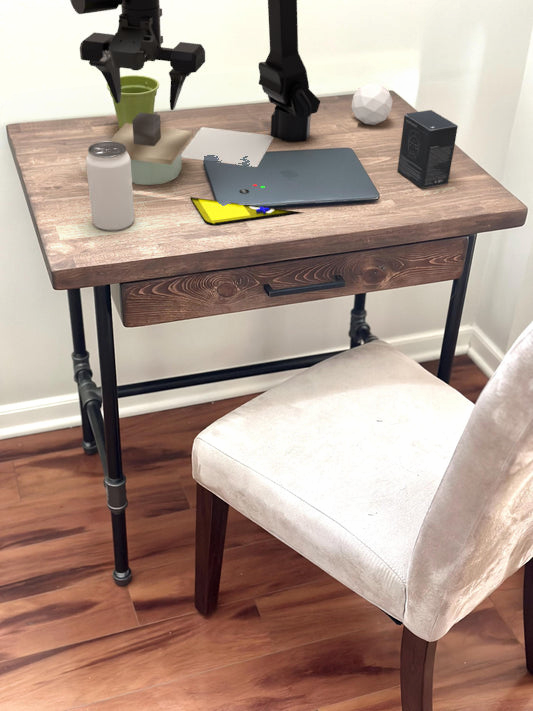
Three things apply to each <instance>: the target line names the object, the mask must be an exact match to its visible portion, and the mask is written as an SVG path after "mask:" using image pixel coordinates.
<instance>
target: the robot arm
mask: <svg viewBox="0 0 533 711" xmlns="http://www.w3.org/2000/svg"><path fill="white" fill-rule="evenodd" d="M69 1H70V4H71V6H72V8H73V9H74V11H75V12H76V14H77V15H85V14H92V13H97V12H104V11H105V12H106V11H112V10H113V11H114V10H117V9H118V7H119V6H121V7H120V8H121V13H120V14H119V15H118V26H117V31H116V33H115V34H111V33H102V32H101V33H100V32H95V31H94V32H92V33H91V34H90V35H89V36H87V37H86V38H85V39H83V40H82V42H80V45H79V56H80V60H81V61H86V62H88V64H89V65H90V66H91V67H95V68H96V69H97V70H99V72H100V73H101V75H102V76H103V78H104V80H105V81H106V85H107V84H108V86H109V88H110V90H111V93H112V95H113V97H114V100H115V102H116V103H119V102H120V101H121V81H120V77H121V69H130V70H132V71H140V70H142V69H143V68H144V66H145V63H148V62H155V61H163V62H164V61H165V62H169V65H170V67H171V68H172V69H171V70H170V71H169V72H168V75H169V77H170V89H169V90H170V92H169V93H170V94H169V106H170V108H169V109H170V111H173V110H175V108H176V106H177V103H178V100H179V97H180V93H181V92H182V88H183V85H184V83H185V80H186V78H187V77H189V76H190V75H191V74H193V73H197V72H198V70H199V69H200V68H201V67H202V66H203V65H204V64H205V63H206V50H205V48H204V46H203V45H202V44H200V43H194V42H193V43H191V42H184V41H181V42H179V43H177V45H175V47H174V48H170V47H165V46H164V47H162V44H163V43H164V36H163V35H162V33H161V17H162V16H163V8H161V7H160V5H161V4H160V0H69ZM267 11H268V14H267V15H268V33H269V34H268V36H269V53H268V55H267V57H266V59H265V61H260V62H258V71H259V80H258V85H260V86H261V89H262V91H263V92H264V93H265V95H267V97H268V101H269V103H271V104H273V105H276V106H274V111H273V113H272V114H271V116H270V135H271V136H272V137H274V138H273V139H278V140H280V141H283V142H284V143H285V142H287V143H300V142H305V143H306V142H307V141H308V139H309V137H310V132H311V121H312V120H311V119H312V117H311V116H312V115H313V114H317V112H318V110H319V108H320V104H321V100H320V99H319V97H317V96H316V95H315V94H314V93H313V92H312V91H311V90H310V85H309V84H310V83H309V79H308V78H309V77H308V72H307V68H306V66H305V64H304V61H303V59H302V58H301V55H300V53H299V33H298V32H299V31H298V28H299V27H298V24H299V23H298V0H267Z"/></svg>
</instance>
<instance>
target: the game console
mask: <svg viewBox="0 0 533 711" xmlns="http://www.w3.org/2000/svg"><path fill="white" fill-rule="evenodd" d="M257 186H258V185H257V184H253V187H257ZM260 188H261V189H265V186H264V185H261V186H260ZM240 193H241V194H245V195H246V194H249V193H250V191H249V189H246V188H242V189H240V190H239V194H240ZM217 201H218V200H215V199H208V198H202V197H201V198H200V197H193V196H190V202H191V203H192V205H193V207H194V208H195V210H196V211H197V213H198V214H199V216H200V218H201V220H203V222H204V223H205V225H209V226H212V227H213V226H214V227H215V226H216V227H217V226H223V225H230V224H237V223H244V222H250V221H252V222H253V221H258V220H264V219H273V218H279V217H285V216H292V215H299V214H300V215H301V214H304V212H302V211H294V210H288V209H281V208H273V207H265V206H259V205H251V204H245V205H239V204H240V203H238V202H230V203H231V204H227V205H225V206H222V205H221V204H219V203H218V202H217Z"/></svg>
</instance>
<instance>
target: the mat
mask: <svg viewBox="0 0 533 711" xmlns="http://www.w3.org/2000/svg"><path fill="white" fill-rule="evenodd" d="M274 139H275V138H274V137H272V136H271V134H270V135H269V134H263V133H260V134H259V133H255V132H244V131H237V130H231V129H230V130H228V129H221V128H211V127H204V126H201V128H200V129H199V130H198V131H197V133H196V134H195V135H194V136H193V137H192V138H191V140H190V141H189V142H188V145H186V146H185V148H184V150H182V152H181V159H189V160H190V159H191V160H197V161H204V156H207V155H215V156H214V157H216V156H218V158H219V160H218V161H221V160H222V161H221V163H222V164H230V165H235V164H236V165H237V166H243V165H242V164H238V163H242V162H245V161H243V160H240V159H243V157H245V156H248V157H247V158H245V159H247V160H249V161H250V162H249V163H250V165H249V166H248V167H251V166H252V167H253V168H258V166H259V164H260V163H261V161H262V159H263V158H264V156H265V154H266V153H267V151H268V148H269V147H270V145H271V143H272V142H273V140H274ZM218 158H217V159H218ZM247 160H246V161H247ZM221 163H220V164H221ZM249 163H247V164H249Z"/></svg>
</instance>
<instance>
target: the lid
mask: <svg viewBox="0 0 533 711" xmlns="http://www.w3.org/2000/svg"><path fill="white" fill-rule="evenodd" d="M132 123H133V124H128V123H125V124H124V126H123V127H122V128H121V129H118V130H117V132H116V133H115V134H114V135H113V136H112V137H111V138H110V139H109V140H108V141H114V142H119V143H122V144H124V145H125V146H126V147H127V153H128V154H129V156H130V159H131V160H138V161H146V162H154V163H162V164H169V165H171V164H172V163H173V162H174V160H175V159H176V158H177V156H178V155H179V154H180V152H181V153H182V152H183V151H184V150H183V149H185V148H186V147H187V144H189V143H190V141H191V140H192V139H193V137H194V131H192V130H184V129H178V128H177V129H176V128H167V127H161V115H160V114H157V113H155V114H148V113H139V114H138V115H137V116H136V117H135V118H134V119H133V120H132Z"/></svg>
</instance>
